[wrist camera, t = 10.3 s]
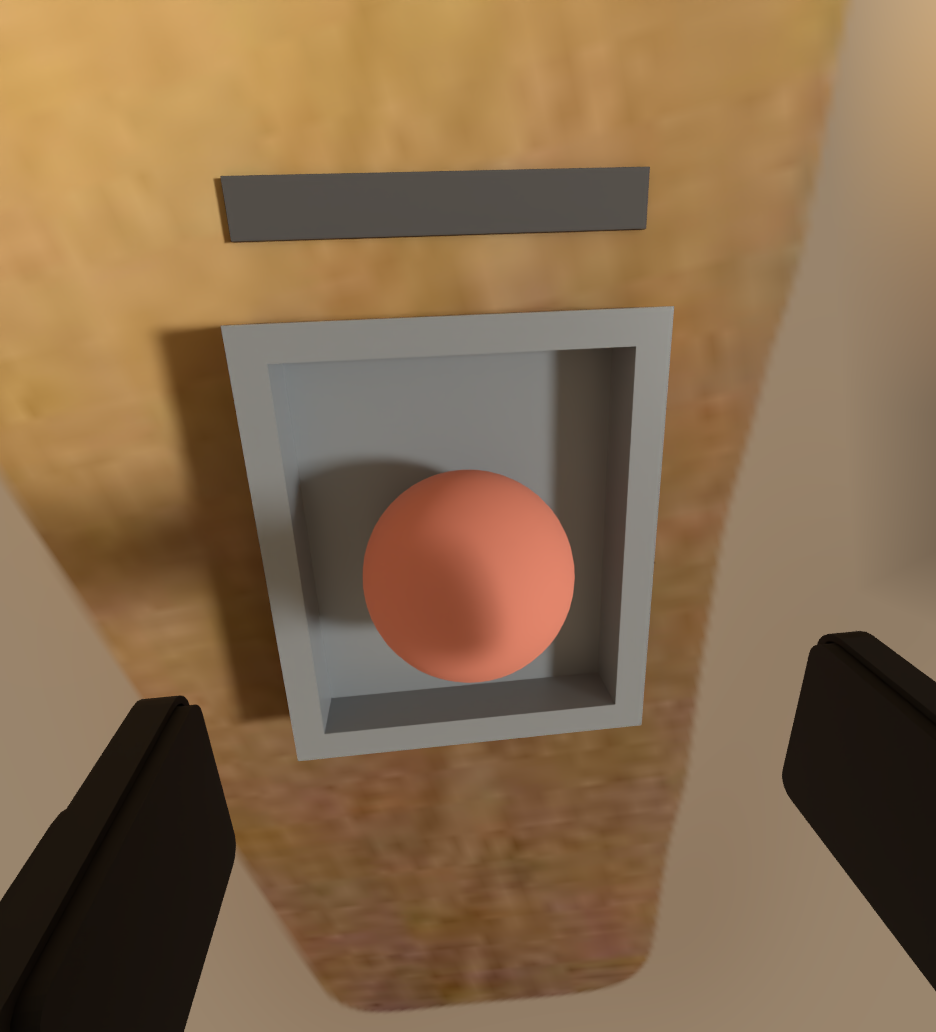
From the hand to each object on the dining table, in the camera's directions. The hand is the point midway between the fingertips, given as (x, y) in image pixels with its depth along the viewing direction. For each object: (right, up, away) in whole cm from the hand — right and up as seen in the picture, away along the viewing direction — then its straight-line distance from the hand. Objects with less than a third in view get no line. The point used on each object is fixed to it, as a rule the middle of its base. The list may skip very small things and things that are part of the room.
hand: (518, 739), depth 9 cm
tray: (-1, +3, +11) cm, 11 cm away
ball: (-1, +2, +8) cm, 8 cm away
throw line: (-2, +12, +8) cm, 15 cm away
